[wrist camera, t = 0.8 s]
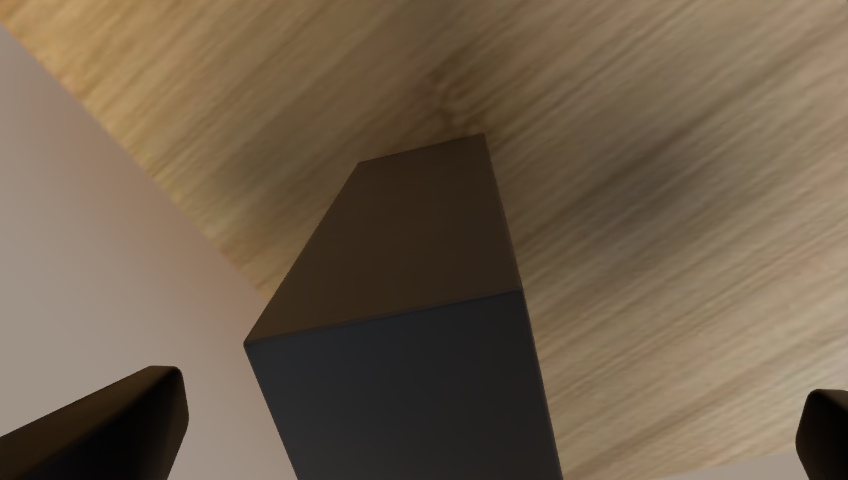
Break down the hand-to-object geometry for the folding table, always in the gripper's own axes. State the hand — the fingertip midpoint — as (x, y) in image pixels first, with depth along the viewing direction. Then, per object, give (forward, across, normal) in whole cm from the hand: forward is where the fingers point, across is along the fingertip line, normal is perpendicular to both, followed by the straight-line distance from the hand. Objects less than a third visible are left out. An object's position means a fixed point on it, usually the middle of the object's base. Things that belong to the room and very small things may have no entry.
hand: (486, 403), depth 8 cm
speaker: (+13, +1, +2) cm, 13 cm away
